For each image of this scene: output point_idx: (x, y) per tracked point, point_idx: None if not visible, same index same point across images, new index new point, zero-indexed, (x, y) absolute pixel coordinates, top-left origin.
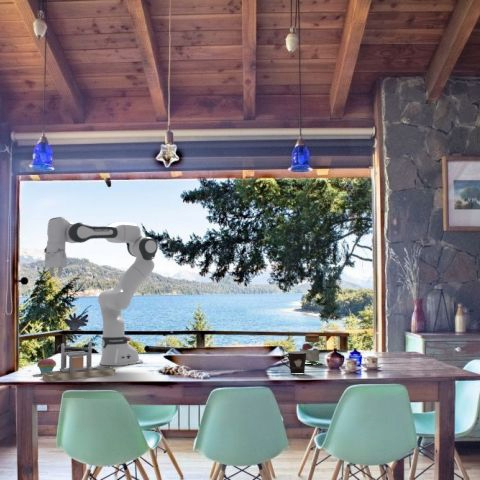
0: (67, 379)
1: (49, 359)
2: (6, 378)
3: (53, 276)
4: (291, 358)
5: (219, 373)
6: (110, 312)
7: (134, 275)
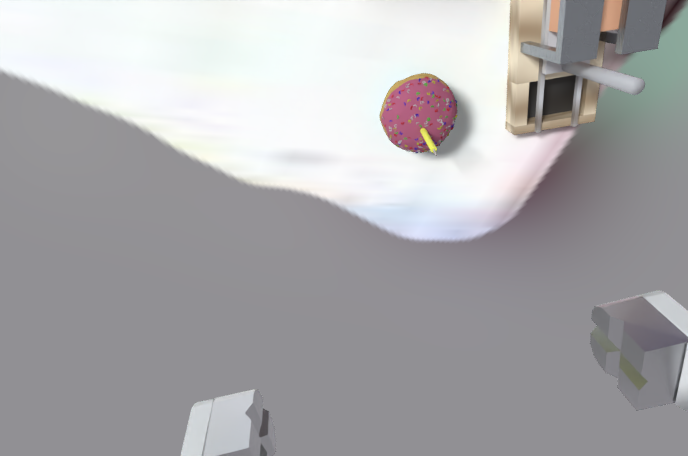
0: None
1: (435, 109)
2: (441, 234)
3: (260, 397)
4: None
5: None
6: None
7: None
